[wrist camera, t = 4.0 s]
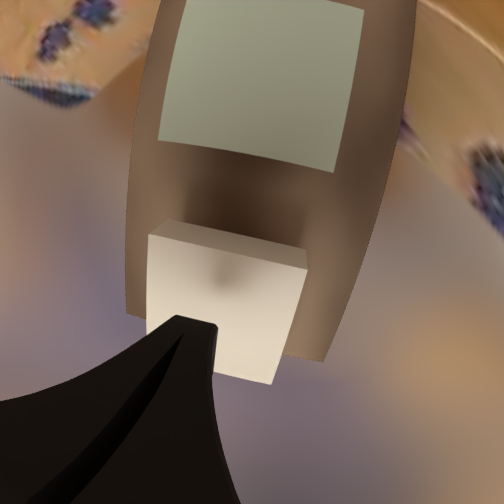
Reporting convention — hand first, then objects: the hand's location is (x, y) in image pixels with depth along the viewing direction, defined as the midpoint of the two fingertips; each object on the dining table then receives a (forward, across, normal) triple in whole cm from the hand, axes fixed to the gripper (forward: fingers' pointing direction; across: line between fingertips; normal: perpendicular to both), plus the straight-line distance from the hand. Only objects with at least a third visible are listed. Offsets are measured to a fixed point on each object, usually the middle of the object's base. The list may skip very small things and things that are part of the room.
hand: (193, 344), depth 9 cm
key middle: (+5, 0, -8) cm, 10 cm away
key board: (+8, 0, -8) cm, 12 cm away
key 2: (+5, 0, +1) cm, 5 cm away
